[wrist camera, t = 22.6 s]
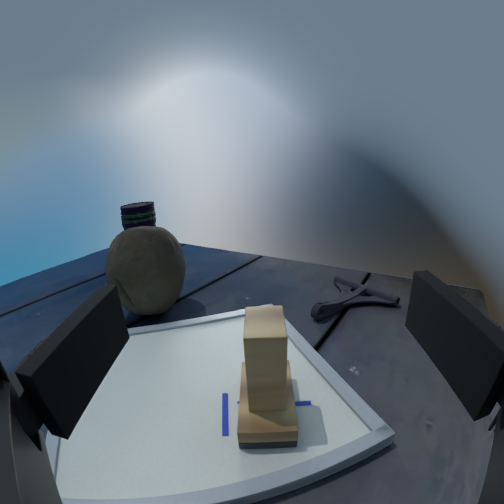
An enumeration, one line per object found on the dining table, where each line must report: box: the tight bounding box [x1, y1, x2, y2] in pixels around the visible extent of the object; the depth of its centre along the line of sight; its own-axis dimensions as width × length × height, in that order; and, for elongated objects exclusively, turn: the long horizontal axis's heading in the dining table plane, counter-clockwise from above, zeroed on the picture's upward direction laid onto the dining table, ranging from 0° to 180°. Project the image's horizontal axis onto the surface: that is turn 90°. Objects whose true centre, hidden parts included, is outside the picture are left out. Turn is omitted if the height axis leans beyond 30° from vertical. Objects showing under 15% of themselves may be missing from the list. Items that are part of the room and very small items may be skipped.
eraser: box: [237, 306, 299, 449], centre depth 25 cm, size 10×5×10 cm, turn 179°
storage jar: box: [121, 202, 156, 231], centre depth 80 cm, size 10×10×15 cm
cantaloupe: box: [106, 226, 185, 315], centre depth 49 cm, size 14×14×15 cm
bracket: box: [311, 276, 400, 320], centre depth 49 cm, size 14×15×3 cm
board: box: [45, 304, 395, 504], centre depth 30 cm, size 30×32×2 cm
